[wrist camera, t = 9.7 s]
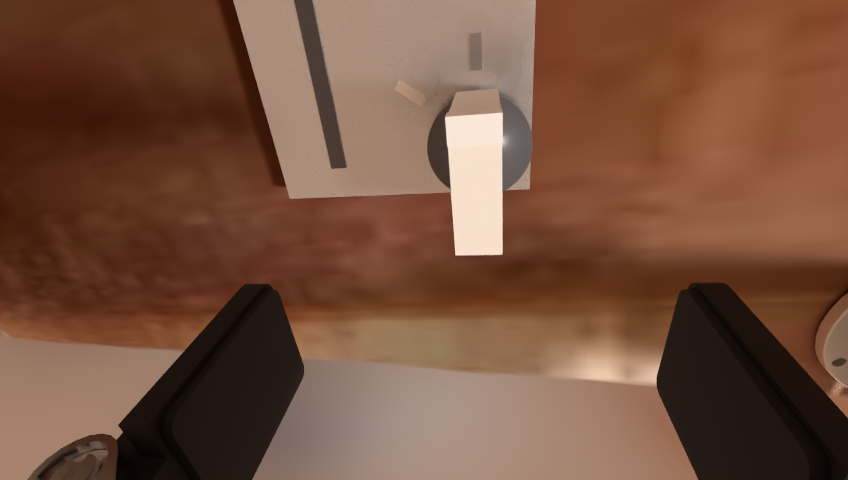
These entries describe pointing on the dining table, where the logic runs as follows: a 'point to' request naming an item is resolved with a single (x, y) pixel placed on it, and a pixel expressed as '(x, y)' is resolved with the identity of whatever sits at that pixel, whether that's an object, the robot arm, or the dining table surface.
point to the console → (378, 83)
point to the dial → (479, 163)
